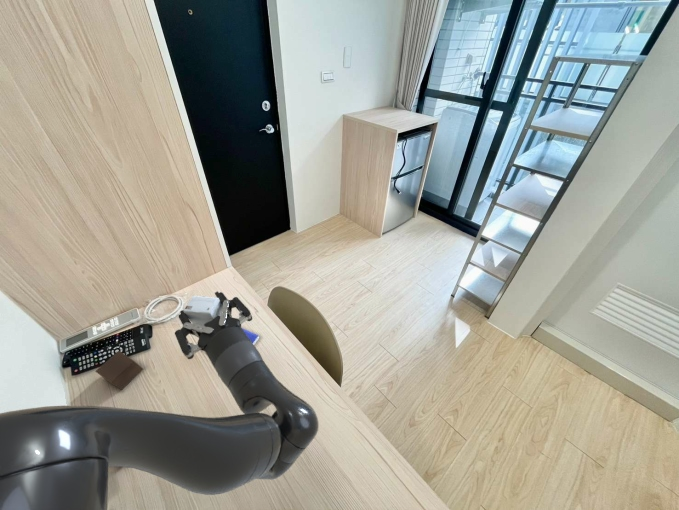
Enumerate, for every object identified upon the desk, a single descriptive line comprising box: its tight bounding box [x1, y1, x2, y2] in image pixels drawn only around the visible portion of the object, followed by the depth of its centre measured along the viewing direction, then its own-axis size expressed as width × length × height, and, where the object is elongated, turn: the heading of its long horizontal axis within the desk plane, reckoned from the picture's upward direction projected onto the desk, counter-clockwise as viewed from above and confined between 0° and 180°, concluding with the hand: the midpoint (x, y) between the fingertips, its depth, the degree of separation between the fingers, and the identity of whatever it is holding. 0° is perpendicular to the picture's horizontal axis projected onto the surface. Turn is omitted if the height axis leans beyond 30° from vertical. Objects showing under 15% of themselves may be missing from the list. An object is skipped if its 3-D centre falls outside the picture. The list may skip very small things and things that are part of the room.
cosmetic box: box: [183, 295, 223, 326], centre depth 60 cm, size 6×4×12 cm
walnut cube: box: [95, 350, 144, 391], centre depth 69 cm, size 6×6×5 cm
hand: (200, 303), depth 59 cm, fingers closed on cosmetic box, 7 cm apart
